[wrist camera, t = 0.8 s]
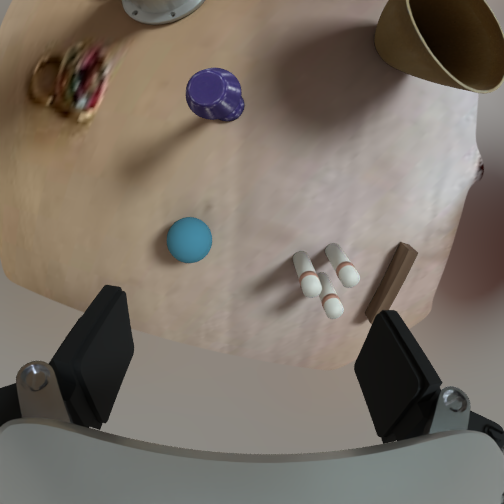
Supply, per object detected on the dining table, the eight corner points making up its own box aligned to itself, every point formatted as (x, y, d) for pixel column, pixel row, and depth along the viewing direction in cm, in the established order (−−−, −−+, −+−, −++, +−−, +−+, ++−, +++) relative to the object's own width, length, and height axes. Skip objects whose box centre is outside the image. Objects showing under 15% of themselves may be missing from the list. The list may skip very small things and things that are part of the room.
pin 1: (322, 255, 42) (338, 285, 34) (328, 241, 41) (346, 268, 33) (337, 259, 42) (355, 289, 35) (343, 245, 41) (363, 272, 34)
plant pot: (328, 40, 29) (377, -2, 14) (384, -10, 24) (440, -49, 10) (403, 116, 33) (479, 122, 19) (450, 61, 29) (521, 53, 14)
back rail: (364, 313, 47) (370, 323, 44) (400, 241, 41) (409, 249, 39) (373, 314, 47) (379, 324, 45) (409, 245, 42) (418, 252, 39)
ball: (169, 245, 41) (158, 264, 35) (176, 207, 38) (165, 221, 33) (209, 255, 42) (204, 276, 36) (218, 217, 39) (214, 233, 34)
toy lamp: (209, 125, 34) (181, 124, 19) (203, 91, 32) (171, 67, 17) (246, 118, 34) (247, 112, 19) (241, 84, 32) (237, 53, 17)
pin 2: (310, 284, 44) (322, 317, 36) (316, 270, 43) (330, 302, 35) (324, 287, 44) (339, 320, 37) (330, 273, 43) (347, 305, 36)
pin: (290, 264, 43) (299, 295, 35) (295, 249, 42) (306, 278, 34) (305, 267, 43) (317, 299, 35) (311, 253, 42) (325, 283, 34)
